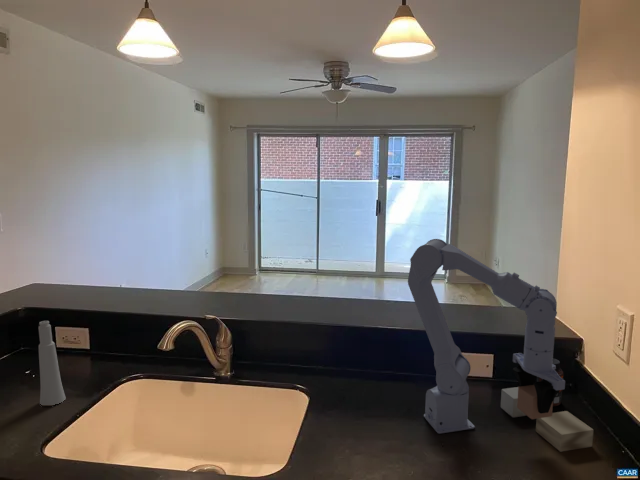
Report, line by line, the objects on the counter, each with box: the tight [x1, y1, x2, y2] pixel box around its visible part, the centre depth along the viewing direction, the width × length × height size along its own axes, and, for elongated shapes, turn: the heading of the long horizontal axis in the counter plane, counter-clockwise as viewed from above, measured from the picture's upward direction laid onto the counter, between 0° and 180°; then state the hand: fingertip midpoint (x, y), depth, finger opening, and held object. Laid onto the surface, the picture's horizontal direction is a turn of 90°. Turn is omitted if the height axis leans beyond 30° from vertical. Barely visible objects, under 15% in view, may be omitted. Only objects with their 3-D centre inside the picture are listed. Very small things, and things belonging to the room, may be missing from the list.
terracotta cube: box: [517, 385, 554, 420], centre depth 103 cm, size 5×5×5 cm
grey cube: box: [500, 386, 528, 418], centre depth 117 cm, size 5×5×5 cm
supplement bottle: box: [536, 357, 564, 407], centre depth 121 cm, size 6×6×11 cm
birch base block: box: [535, 410, 594, 453], centre depth 106 cm, size 8×8×4 cm
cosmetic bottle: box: [38, 320, 67, 406], centre depth 123 cm, size 6×6×22 cm
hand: (534, 405), depth 104 cm, fingers closed on terracotta cube, 5 cm apart
